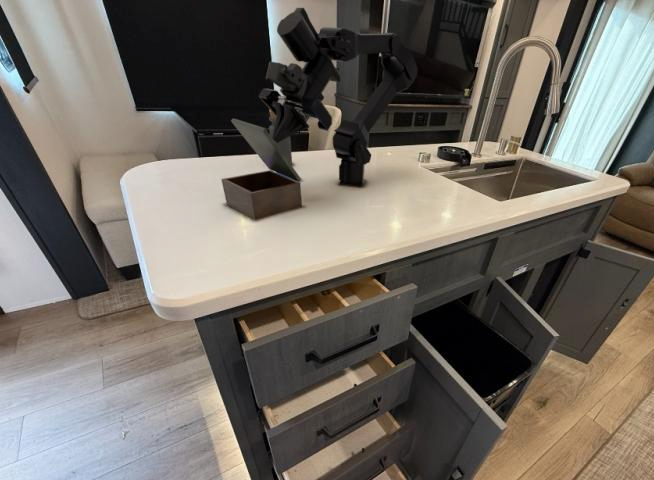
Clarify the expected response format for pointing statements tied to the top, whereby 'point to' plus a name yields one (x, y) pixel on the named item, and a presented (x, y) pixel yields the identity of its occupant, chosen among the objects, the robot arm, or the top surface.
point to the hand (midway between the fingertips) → (274, 141)
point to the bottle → (284, 144)
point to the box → (262, 194)
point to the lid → (266, 148)
